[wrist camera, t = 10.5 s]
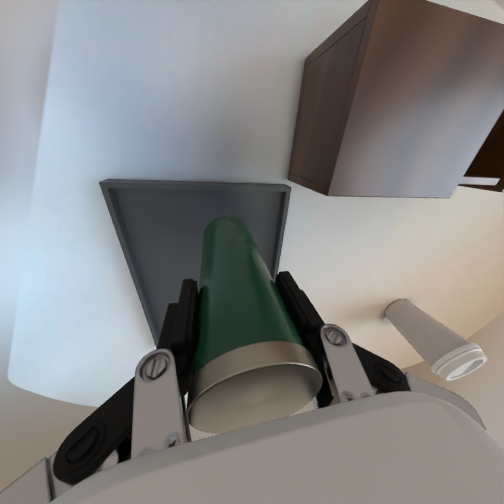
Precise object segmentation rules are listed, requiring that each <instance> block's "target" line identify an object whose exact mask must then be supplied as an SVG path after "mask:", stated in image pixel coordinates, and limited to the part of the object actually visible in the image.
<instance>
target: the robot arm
mask: <svg viewBox="0 0 504 504" xmlns="http://www.w3.org/2000/svg"><path fill="white" fill-rule="evenodd" d="M275 285H276V287H277V289H278V292H279V294H280V296H281V298H282V300H283V302H284V304H285V306H286V308H287V310H288V312H289V315H290V317H291V319H292V321H293V323H294V325H295V327H296V329H297V331H298V333H299V335H300V337H301V340H302V342H303V344H304V346H305V348H306V349H307V350H308V351H309V352H310V353H311V354H312V356H313V359H314V361H315V363H316V365H317V367H318V369H319V371H320V373H321V375H322V381H323V382H322V386H321V389H320V390H319V392H318V394H317V395H316V396H315V397H314V398H313V404H314V409H315V410H312V411H308V412H304V413H301V414H296V415H293V416H289V417H285V418H281V419H277V420H273V421H269V422H265V423H261V424H257V425H253V426H250V427H246V428H242V429H238V430H234V431H230V432H227V433H223V434H219V435H215V436H212V437H208V438H204V439H200V440H196V441H191V435H190V428H189V422H188V420H187V416H186V412H187V408H186V402H185V394H186V393H187V392H188V390H189V385H190V383H191V381H192V374H193V361H194V349H195V336H196V322H197V309H198V296H199V293H198V285H197V281H194V280H193V278H192V279H183V282H182V287H181V292H180V297H179V302H178V303H169V305H168V308H167V311H166V315H165V319H164V323H163V326H162V330H161V334H160V338H159V341H158V345H157V349H156V350H153V351H151V352H149V353H148V354H147V355H145V356H144V357H143V358H142V359H141V361H140V362H139V364H138V365H137V367H136V371H135V376H134V377H133V378H132V379H131V380H130V381H129V382H128V383H126V384H125V385H124V386H123V387H122V388H121V389H120V390H118V391H117V392H116V393H115V394H114V395H113V396H112V397H110V398H109V399H108V400H107V401H106V402H105V403H103V404H102V405H101V406H100V407H99V408H98V409H97V410H95V411H94V412H93V413H92V414H91V415H90V416H89V417H87V418H86V419H85V420H84V421H83V422H82V423H81V424H80V425H78V426H77V427H76V428H75V429H74V430H73V431H72V432H71V433H70V434H69V435H68V436H67V437H66V439H65V440H64V441H63V443H62V444H61V446H60V447H59V449H58V451H56V452H55V453H54V454H53V455H51V456H50V457H49V458H46V457H44V458H43V459H42V460H40V461H39V462H38V463H37V464H35V465H34V466H33V467H31V468H30V469H29V470H28V471H27V472H25V473H24V474H23V475H21V476H20V477H19V478H18V479H16V480H15V481H14V482H12V483H11V484H10V485H9V486H7V487H6V488H5V489H3V490H2V491H1V492H0V504H504V447H503V446H502V445H501V444H500V443H499V442H498V441H497V440H495V438H493V437H492V436H491V435H490V434H489V433H488V432H487V431H486V428H485V427H484V425H483V423H482V420H481V418H480V417H479V415H478V413H477V412H476V410H475V409H474V408H473V407H472V406H471V405H470V403H469V402H467V401H466V400H465V399H464V398H462V397H461V396H459V395H458V394H456V393H454V392H452V391H449V390H447V389H445V388H442V387H440V386H438V385H435V384H433V383H430V382H428V381H426V380H423V379H421V378H419V377H416V376H414V375H411V374H409V373H407V372H405V373H404V374H403V373H402V372H401V371H400V369H399V368H398V367H396V366H395V365H394V364H392V363H391V362H389V361H387V360H385V359H383V358H381V357H379V356H377V355H375V354H373V353H372V352H370V351H368V350H366V349H364V348H362V347H360V346H358V345H356V344H354V343H352V342H351V340H350V338H349V336H348V334H347V333H346V332H345V331H344V330H343V329H342V328H340V327H339V326H337V325H334V324H325V323H324V322H323V320H322V319H321V317H320V316H319V314H318V312H317V311H316V309H315V308H314V306H313V305H312V303H311V302H310V300H309V299H308V297H307V296H306V294H305V293H304V291H302V290H300V289H299V287H298V285H297V284H296V282H295V281H294V279H293V278H292V276H291V274H290V273H289V272H288V271H284V272H279V274H277V275H276V279H275Z"/></svg>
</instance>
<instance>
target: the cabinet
mask: <svg viewBox="0 0 504 504" xmlns="http://www.w3.org/2000/svg"><path fill="white" fill-rule="evenodd" d="M503 110H504V24H501V23H497V22H494V21H491V20H488V19H485V18H481V17H478V16H475V15H472V14H468V13H465V12H462V11H459V10H456V9H452V8H449V7H446V6H443V5H439V4H436V3H433V2H430V1H427V0H368V1H367V2H366V3H365V4H364V5H363V6H362V7H361V8H360V9H358V10H357V11H356V12H355V13H354V14H353V15H352V16H351V17H350V18H349V19H348V20H347V21H346V22H344V23H343V24H342V25H341V26H340V27H339V28H338V29H337V30H336V31H335V32H334V33H333V34H332V35H330V36H329V37H328V38H327V39H326V40H325V41H324V42H323V43H322V44H321V45H320V46H319V47H318V48H316V49H315V50H314V51H313V52H312V53H311V54H310V55H309V56H308V57H307V58H306V60H305V66H304V73H303V80H302V86H301V93H300V100H299V106H298V113H297V120H296V126H295V133H294V140H293V146H292V153H291V160H290V167H289V173H288V180H290V181H292V182H294V183H297V184H299V185H302V186H304V187H306V188H309V189H311V190H314V191H316V192H318V193H321V194H323V195H326V196H347V197H406V198H450V197H451V195H452V194H453V192H454V191H455V189H456V187H457V186H458V184H459V182H460V181H461V179H462V177H463V176H464V174H465V172H466V171H467V169H468V167H469V166H470V164H471V162H472V161H473V159H474V157H475V156H476V154H477V153H478V151H479V149H480V148H481V146H482V144H483V143H484V141H485V139H486V138H487V136H488V134H489V133H490V131H491V129H492V128H493V126H494V124H495V123H496V121H497V120H498V118H499V116H500V115H501V113H502V111H503Z"/></svg>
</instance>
